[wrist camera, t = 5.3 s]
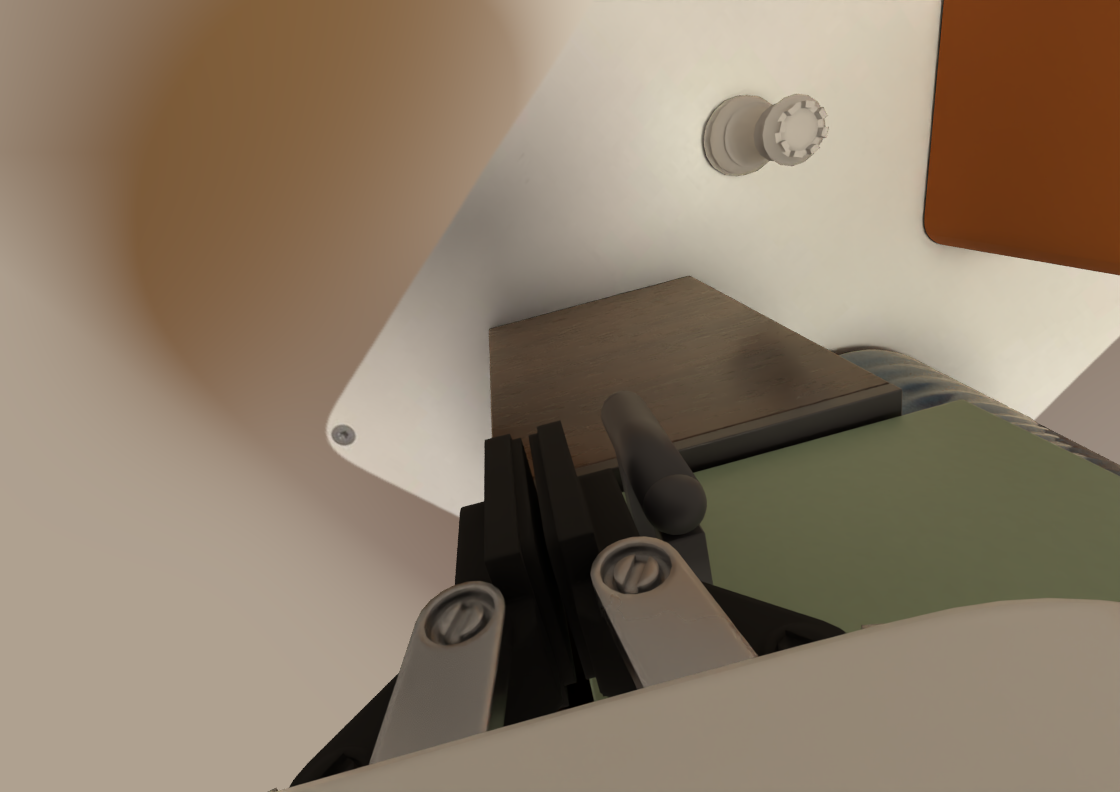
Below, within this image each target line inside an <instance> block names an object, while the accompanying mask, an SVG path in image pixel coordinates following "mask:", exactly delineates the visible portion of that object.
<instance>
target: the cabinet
mask: <svg viewBox="0 0 1120 792" xmlns="http://www.w3.org/2000/svg"><path fill="white" fill-rule="evenodd" d="M489 353H490V388H491V423H492V438H494V437H498V436H502V435H506V434H510V435H511V438H512V440H513V439H517V438H520V437H521V439H522V442H523V445H524V449H525V452H526V455H527V459H528V462H529V466H530V469H531V473H532V476H533V479H534V483H535V486H536V481H535V475H534V468H533V462H532V456H531V450H530V443H529V437H528V435H532V434H535V433H537V428H536V426H540V425H544V424H547V423H551V422H555V421H559V420H561V424H562V427H563V430H564V434H565V437H566V440H567V444H568V447H569V451H570V454H571V457H572V461H573V464H574V467H575V471H576V474H577V476H581V475H585V474H588V473H592V472H596V471H600V470H603V469H607V468H612V470H613V473H614V475H615V477H616V480H617V482H618V485H619V487H620V489H621V492H624V488H623V484H622V479H621V475H620V470H619V466H618V461H617V457H616V452H615V449H614V447H613V445H612V443H611V440H610V438H609V436H608V434H607V432H606V430H605V427H604V425H603V423H602V420H601V409H602V406H603V403H604V401H605V400H606V399H607V398H608V397H609V396H610V395H612V394H613V393H615V392H618V391H631V392H634V393H636V394H637V395H639V396H640V397H641V398H642V399H643V400H644V401H645V403H646V404H647V406H648V407H649V409H650V410H651V412H652V413H653V415H654V416H655V418H656V419H657V421H658V422H659V424H660V425H661V426H662V428H663V429H664V431H665V432H666V434H667V435H668V437H669V438H670V440H671V441H672V443H673V444H674V446H675V447H676V449H677V450H678V451H679V453H680V454H681V456H682V457H683V459H684V460H685V462H686V463H687V465H688V466H689V468H690V469H691V471H692V472H693V473H695V472H698V471H702V470H706V469H709V468H713V467H717V466H720V465H724V464H728V463H731V462H735V461H739V460H742V459H746V458H749V457H753V456H757V455H760V454H764V453H768V452H771V451H775V450H779V449H782V448H786V447H789V446H793V445H797V444H800V443H804V442H808V441H811V440H815V439H819V438H822V437H826V436H829V435H833V434H837V433H840V432H844V431H848V430H851V429H855V428H859V427H862V426H866V425H870V424H873V423H877V422H880V421H884V420H888V419H891V418H895V417H899V416H902V389H901V388H899V387H897V386H895V385H893V384H891V383H890V384H889V382H887V381H885V380H883V379H881V378H880V377H878V376H876V375H874V374H872V373H870V372H868V371H867V370H865V369H863V368H861V367H859V366H857V365H855V364H854V363H852V362H850V361H848V360H846V359H844V358H842V357H841V356H839V355H837V354H835V353H833V352H831V351H829V350H827V349H826V348H824V347H822V346H820V345H818V344H816V343H814V342H813V341H811V340H809V339H807V338H805V337H803V336H801V335H800V334H798V333H796V332H794V331H792V330H790V329H788V328H786V327H785V326H783V325H781V324H779V323H777V322H775V321H773V320H772V319H770V318H768V317H766V316H764V315H762V314H760V313H759V312H757V311H755V310H753V309H751V308H749V307H747V306H745V305H744V304H742V303H740V302H738V301H736V300H734V299H732V298H731V297H729V296H727V295H725V294H723V293H721V292H719V291H718V290H716V289H714V288H712V287H710V286H708V285H706V284H704V283H703V282H701V281H699V280H697V279H695V278H693V277H691V276H687V277H683V278H679V279H675V280H672V281H668V282H664V283H660V284H657V285H653V286H649V287H645V288H642V289H638V290H634V291H630V292H627V293H623V294H619V295H615V296H611V297H608V298H604V299H600V300H596V301H593V302H589V303H585V304H581V305H578V306H574V307H570V308H566V309H563V310H559V311H555V312H551V313H548V314H544V315H540V316H536V317H533V318H529V319H525V320H521V321H517V322H514V323H510V324H506V325H502V326H499V327H495V328H491V329H489ZM536 490H537V487H536ZM564 610H565V608H564ZM565 616H566V622H567V627H568V633H569V638H570V644H571V650H572V655H573V661H574V667H575V672H576V678H577V682H576V683H573V684H569V685H566V686H567V692H568V699H569V705H570V706H568V707H564V708H560V709H558V711H557V712H559V711H563V710H566V709H570V708H574V707H577V706H581V705H584V704H588V703H592V702H594V699H593V694H592V689H591V684H590V679H587V680H586V678H585V675H584V671H583V668H582V665H581V661H580V658H579V655H578V651H577V648H576V645H575V641H574V638H573V635H572V631H571V628H570V625H569V621H568V618H567V615H566V611H565Z"/></svg>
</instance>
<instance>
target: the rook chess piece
mask: <svg viewBox="0 0 1120 792" xmlns="http://www.w3.org/2000/svg"><path fill="white" fill-rule="evenodd" d="M827 116H828V115H827V113H826V111H825V109H824V107H820V105H819V103H818V102H817V101H816V100H814V99H813V98H811V97H810V96H809V95H802V94H794V95H791V96H788V97H785V98H783V99H782V100H781V101H780V102H778V103H777V104H774V105H772V104H770V103H769V102H767V101H766V100H764V99H763V98H761V97H758V96H749V95H745V96H737V97H734V98H731V99H728V100H726V101H725V102H723V103H722V104H721V105H720V106H719V107H718V108H717V109H715V110H714V112H713V114H712V115H711V117H710V119H709V121H708V123H707V125H706V129H705V135H704V146H705V152H706V156H707V158H708V159H709V161H710V163H711V164H712V166H713V167H714V168H715V169H717V170H718V171H720V172H721V173H723V174H725V175H733V176H740V175H746V174H749V173H752V172H755V171H758V170H759V169H760V168H761V167H763V166H764V165H765V164H766V163H767V162H769V161H775V162H777V163H778V164H780V165H787V166H794V165H797V164H800V163H802V162H805V161H806V160H807V159H808V158H809V157H811V156H812V155H813V154H814V153H815V152H816V151H817V150H818V149H819V148H820V147H819V145H820V143H821V142H822V138H826V137H827V133H828V129H829V127H825V119H824V118H825V117H827Z"/></svg>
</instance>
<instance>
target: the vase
mask: <svg viewBox="0 0 1120 792" xmlns="http://www.w3.org/2000/svg"><path fill="white" fill-rule="evenodd" d="M839 356H841V357H842V358H844V359H846V360H848V361H850V362H852V363H854V364H855V365H857V366H859V367H861V368H863V369H865V370H867V371H868V372H870V373H872V374H874V375H876V376H878V377H880V378H881V379H883V380H885V381H887V382H889V384H890V383H891V384H893V385H895V386H897V387H899V388H901V389H902V415H906V414H910V413H913V412H917V411H920V410H924V409H928V408H931V407H935V406H939V405H942V404H946V403H950V402H953V401H957V400H965V401H967V402H969V403H971V404H973V405H975V406H977V407H979V408H981V409H983V410H985V411H987V412H989V413H992V414H994V415H996V416H998V417H1000V418H1002V419H1004V420H1006V421H1008V422H1010V423H1012V424H1014V425H1016V426H1018V427H1020V428H1022V429H1024V430H1026V431H1028V432H1030V433H1032V434H1034V435H1036V436H1039V437H1041V438H1043V439H1045V440H1047V441H1049V442H1051V443H1053V444H1055V445H1057V446H1059V447H1061V448H1063V449H1065V450H1067V451H1069V452H1071V453H1073V454H1075V455H1077V456H1079V457H1081V458H1083V459H1086V460H1088V461H1090V462H1092V463H1094V464H1096V465H1098V466H1100V467H1102V468H1104V469H1106V470H1108V471H1110V472H1112V473H1114V474H1116V475H1118V476H1120V465H1118V464H1117V463H1114V462H1112V461H1110V460H1109V459H1107V458H1105V457H1103V456H1101V455H1099V454H1097V453H1095V452H1093V451H1091V450H1089V449H1087V448H1085V447H1083V446H1081V445H1079V444H1077V443H1075V442H1073V441H1071V440H1069V439H1068V438H1065V437H1064V436H1062V435H1060V434H1058V433H1056V432H1054V431H1052V430H1050V429H1048V428H1046V427H1044V426H1042V425H1040V424H1038V423H1037V422H1035V421H1034V420H1033V419H1031V418H1030V417H1028V416H1026V415H1024V414H1022V413H1020V412H1018V411H1016V410H1014V409H1012V408H1009V407H1008V406H1006V405H1004V404H1002V403H1000V402H998V401H996V400H994V399H992V398H990V397H988V396H986V395H984V394H983V393H981V392H979V391H977V390H975V389H973V388H971V387H969V386H967V385H965V384H963V383H960V382H959V381H957V380H955V379H953V378H951V377H949V376H947V375H945V374H943V373H941V372H939V371H937V370H935V369H933V368H931V367H929V366H927V365H925V364H923V363H922V362H920V361H918V360H916V359H914V358H912V357H910V356H907V355H904V354H901V353H898V352H893V351H888V350H878V349H875V350H858V351H852V352H847V353H843V354H840V355H839Z"/></svg>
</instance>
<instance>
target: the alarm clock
mask: <svg viewBox="0 0 1120 792" xmlns="http://www.w3.org/2000/svg"><path fill="white" fill-rule="evenodd" d="M924 223H925V229H926V232H927V234H928V236H929V237H930V238H931V239H932V240H933V241H935V242H936V243H938V244H942V245H947V246H953V247H959V248H965V249H970V250H976V251H982V252H988V253H994V254H999V255H1005V256H1011V257H1017V258H1023V259H1028V260H1034V261H1040V262H1046V263H1052V264H1057V265H1063V266H1069V267H1075V268H1081V269H1086V270H1092V271H1098V272H1104V273H1109V274H1115V275H1120V0H944V4H943V16H942V27H941V38H940V49H939V60H938V72H937V83H936V94H935V105H934V116H933V128H932V139H931V150H930V161H929V172H928V183H927V195H926V206H925V217H924Z"/></svg>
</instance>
